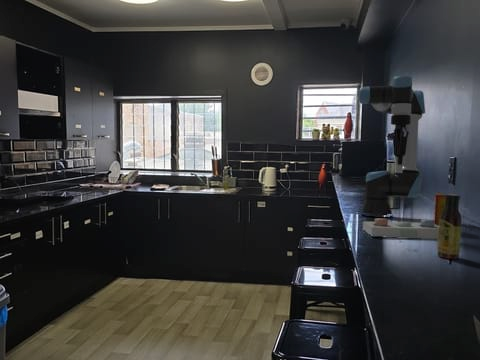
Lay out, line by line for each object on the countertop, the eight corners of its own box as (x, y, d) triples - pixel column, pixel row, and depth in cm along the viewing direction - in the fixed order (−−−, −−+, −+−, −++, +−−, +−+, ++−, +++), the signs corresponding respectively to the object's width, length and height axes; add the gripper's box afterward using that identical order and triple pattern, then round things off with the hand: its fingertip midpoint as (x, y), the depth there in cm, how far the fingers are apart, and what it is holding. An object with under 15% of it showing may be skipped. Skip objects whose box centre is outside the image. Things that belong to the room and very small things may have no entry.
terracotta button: (372, 225, 175) (373, 217, 175) (385, 225, 175) (385, 218, 175) (376, 227, 170) (376, 219, 170) (389, 227, 170) (389, 220, 170)
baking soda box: (451, 233, 179) (453, 194, 178) (434, 232, 181) (435, 193, 180) (449, 230, 187) (451, 192, 186) (433, 229, 190) (434, 192, 189)
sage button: (395, 228, 175) (395, 221, 175) (408, 229, 175) (408, 221, 175) (399, 231, 170) (399, 223, 170) (412, 231, 170) (413, 223, 170)
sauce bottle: (433, 255, 140) (436, 193, 139) (451, 255, 141) (455, 193, 139) (444, 260, 133) (447, 195, 132) (464, 260, 134) (467, 195, 133)
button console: (362, 231, 181) (362, 221, 181) (431, 232, 180) (431, 223, 180) (371, 237, 167) (372, 227, 167) (446, 239, 166) (447, 229, 166)
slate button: (418, 226, 175) (418, 219, 174) (431, 226, 174) (431, 219, 174) (423, 228, 170) (423, 221, 169) (436, 229, 169) (436, 221, 169)
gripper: (386, 116, 186) (384, 171, 187) (396, 113, 173) (394, 173, 174) (404, 116, 185) (402, 172, 187) (416, 113, 172) (413, 173, 174)
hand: (398, 172), depth 180 cm, fingers closed
